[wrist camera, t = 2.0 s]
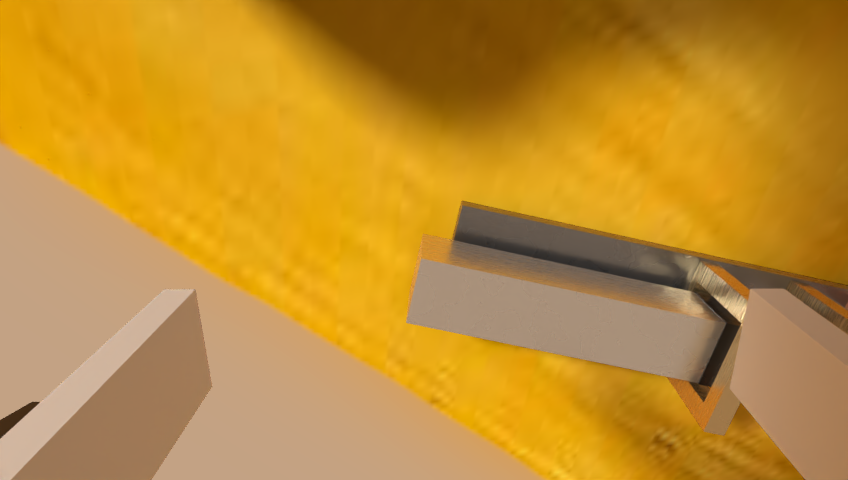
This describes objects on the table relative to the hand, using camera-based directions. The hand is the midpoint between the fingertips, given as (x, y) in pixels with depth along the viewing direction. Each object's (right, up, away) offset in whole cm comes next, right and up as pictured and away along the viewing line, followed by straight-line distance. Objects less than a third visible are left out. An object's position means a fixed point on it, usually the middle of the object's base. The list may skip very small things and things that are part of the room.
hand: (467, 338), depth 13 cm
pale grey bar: (+9, -1, +21) cm, 23 cm away
